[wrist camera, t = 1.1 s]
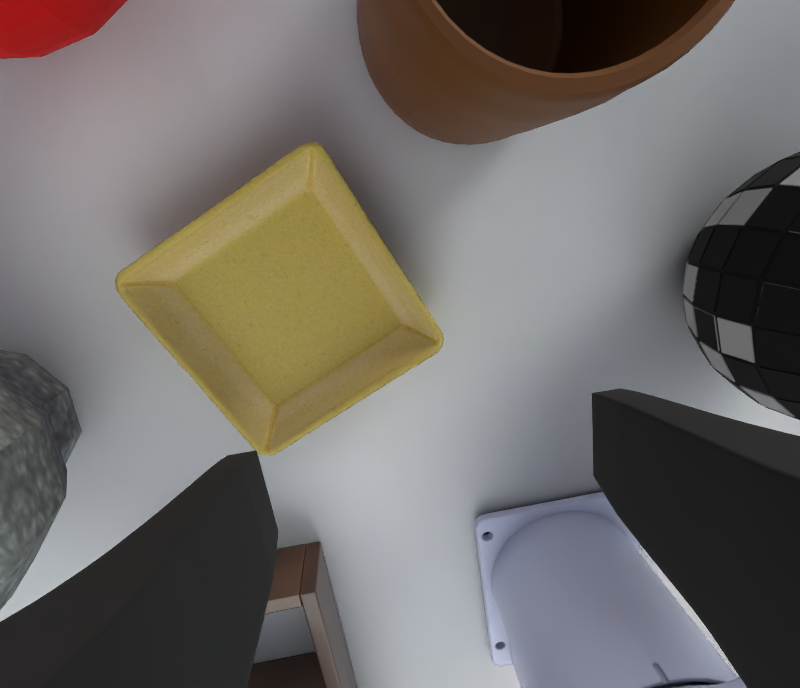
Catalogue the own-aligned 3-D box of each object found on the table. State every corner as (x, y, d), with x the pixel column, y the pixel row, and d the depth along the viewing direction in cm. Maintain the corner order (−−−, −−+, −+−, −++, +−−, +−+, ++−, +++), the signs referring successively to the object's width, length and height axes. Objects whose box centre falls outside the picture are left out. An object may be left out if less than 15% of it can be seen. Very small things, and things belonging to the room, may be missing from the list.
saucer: (441, 330, 20) (451, 346, 18) (272, 437, 21) (263, 463, 19) (320, 140, 17) (316, 133, 15) (132, 270, 18) (104, 280, 16)
